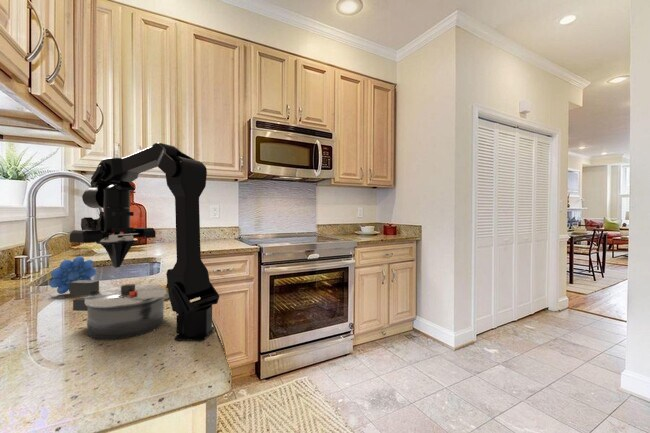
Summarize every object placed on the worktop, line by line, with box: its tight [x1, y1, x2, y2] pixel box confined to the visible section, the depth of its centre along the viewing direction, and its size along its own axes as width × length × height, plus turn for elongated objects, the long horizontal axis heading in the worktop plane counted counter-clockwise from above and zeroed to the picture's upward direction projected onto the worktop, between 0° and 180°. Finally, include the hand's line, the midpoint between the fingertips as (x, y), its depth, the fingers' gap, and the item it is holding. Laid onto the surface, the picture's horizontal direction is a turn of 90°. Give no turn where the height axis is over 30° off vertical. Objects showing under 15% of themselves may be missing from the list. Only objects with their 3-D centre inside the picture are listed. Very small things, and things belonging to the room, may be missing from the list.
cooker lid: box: [69, 280, 166, 308], centre depth 70 cm, size 21×16×4 cm
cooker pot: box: [72, 296, 165, 341], centre depth 70 cm, size 20×15×7 cm
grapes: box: [49, 256, 97, 295], centre depth 97 cm, size 12×7×12 cm, turn 129°
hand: (116, 267), depth 77 cm, fingers closed
